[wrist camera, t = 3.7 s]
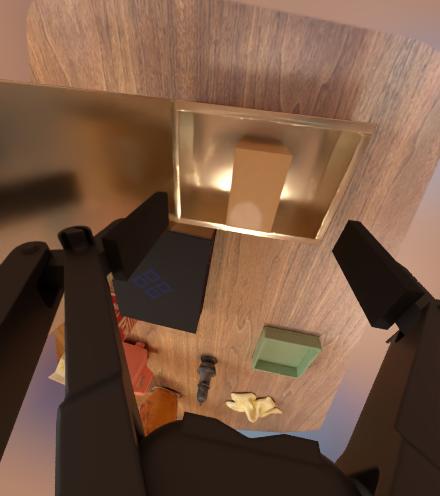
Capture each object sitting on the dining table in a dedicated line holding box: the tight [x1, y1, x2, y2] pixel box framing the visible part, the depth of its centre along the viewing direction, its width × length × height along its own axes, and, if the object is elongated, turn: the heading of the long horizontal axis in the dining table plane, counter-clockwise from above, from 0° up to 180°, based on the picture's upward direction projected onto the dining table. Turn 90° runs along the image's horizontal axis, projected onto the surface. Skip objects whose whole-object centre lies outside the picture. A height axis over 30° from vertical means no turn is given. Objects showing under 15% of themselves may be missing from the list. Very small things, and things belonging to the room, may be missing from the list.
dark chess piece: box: [197, 356, 217, 406], centre depth 58 cm, size 6×6×12 cm
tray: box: [252, 326, 322, 379], centre depth 52 cm, size 13×16×3 cm
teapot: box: [123, 342, 153, 396], centre depth 60 cm, size 22×13×14 cm, turn 76°
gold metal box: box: [171, 99, 377, 246], centre depth 26 cm, size 20×14×7 cm
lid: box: [0, 79, 176, 335], centre depth 16 cm, size 21×14×6 cm
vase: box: [139, 386, 181, 436], centre depth 72 cm, size 21×20×30 cm
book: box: [112, 222, 217, 334], centre depth 39 cm, size 17×25×7 cm
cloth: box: [226, 393, 282, 423], centre depth 74 cm, size 22×19×6 cm
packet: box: [226, 136, 292, 234], centre depth 24 cm, size 5×8×10 cm, turn 174°
